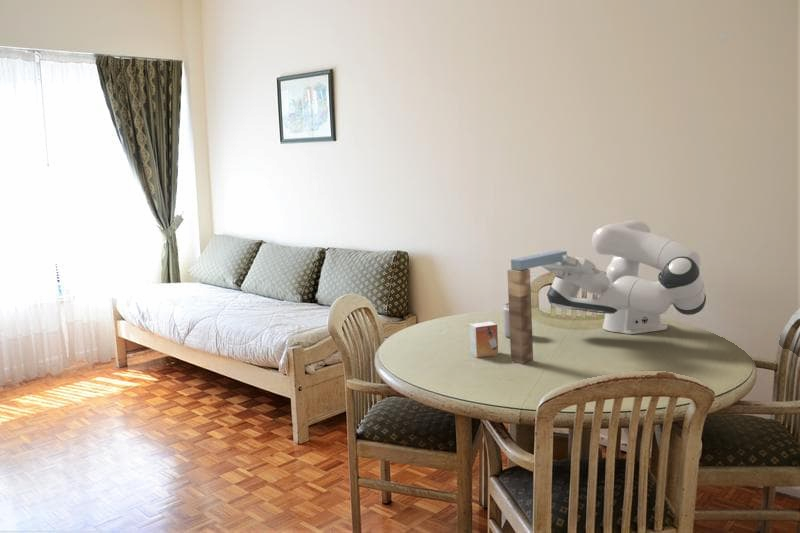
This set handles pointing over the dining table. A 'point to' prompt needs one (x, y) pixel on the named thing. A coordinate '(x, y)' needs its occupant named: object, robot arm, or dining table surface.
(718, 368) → the dining table surface
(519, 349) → the stand
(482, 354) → the small box
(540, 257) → the blue bar
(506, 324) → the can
